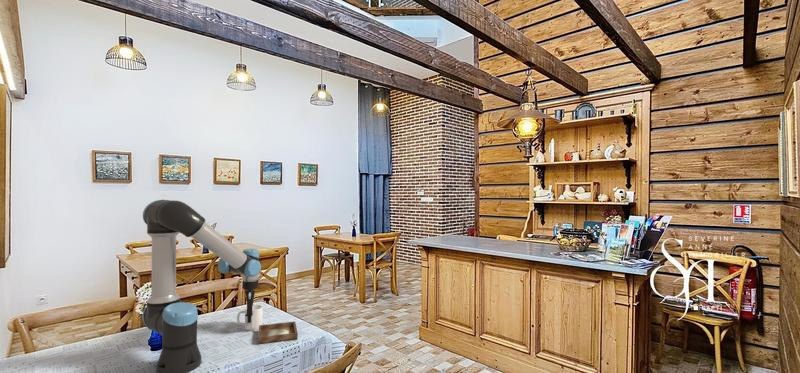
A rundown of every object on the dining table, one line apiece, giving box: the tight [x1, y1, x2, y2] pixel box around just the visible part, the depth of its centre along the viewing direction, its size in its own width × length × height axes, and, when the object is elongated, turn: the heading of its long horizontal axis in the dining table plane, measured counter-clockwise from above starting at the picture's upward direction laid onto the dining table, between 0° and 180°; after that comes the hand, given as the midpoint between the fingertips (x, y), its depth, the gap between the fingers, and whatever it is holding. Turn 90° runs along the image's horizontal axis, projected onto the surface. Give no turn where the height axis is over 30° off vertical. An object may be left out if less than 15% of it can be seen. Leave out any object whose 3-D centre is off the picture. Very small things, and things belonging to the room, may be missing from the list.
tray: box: [257, 321, 299, 345], centre depth 175 cm, size 17×16×3 cm
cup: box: [236, 304, 264, 332], centre depth 184 cm, size 8×12×10 cm
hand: (249, 325), depth 183 cm, fingers closed on cup, 8 cm apart
